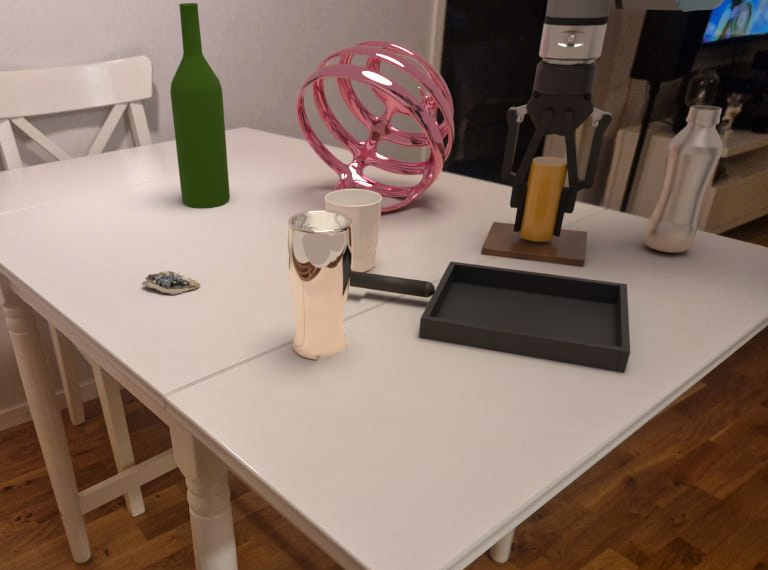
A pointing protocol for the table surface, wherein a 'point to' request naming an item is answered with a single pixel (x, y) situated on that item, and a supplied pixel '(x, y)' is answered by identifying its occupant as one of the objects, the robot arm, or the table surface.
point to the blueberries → (170, 282)
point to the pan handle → (392, 284)
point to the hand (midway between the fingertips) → (537, 230)
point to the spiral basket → (380, 126)
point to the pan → (531, 315)
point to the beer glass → (319, 279)
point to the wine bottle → (198, 121)
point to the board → (536, 246)
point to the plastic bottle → (685, 181)
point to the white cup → (359, 222)
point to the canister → (543, 198)
